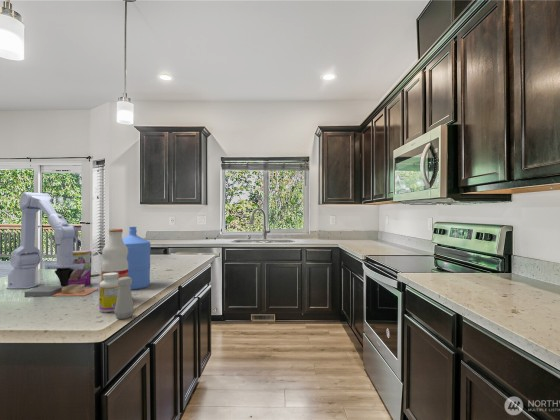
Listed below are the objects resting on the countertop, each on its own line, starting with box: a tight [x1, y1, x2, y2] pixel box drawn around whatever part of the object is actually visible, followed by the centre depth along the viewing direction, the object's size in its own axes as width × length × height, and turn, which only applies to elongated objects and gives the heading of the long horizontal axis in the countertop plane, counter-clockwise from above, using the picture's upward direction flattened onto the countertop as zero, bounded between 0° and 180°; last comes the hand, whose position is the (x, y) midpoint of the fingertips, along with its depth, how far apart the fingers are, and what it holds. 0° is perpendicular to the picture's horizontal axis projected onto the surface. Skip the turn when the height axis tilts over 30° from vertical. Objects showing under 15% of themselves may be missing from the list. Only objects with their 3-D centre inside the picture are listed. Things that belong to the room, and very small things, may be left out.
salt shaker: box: [114, 277, 135, 320], centre depth 102 cm, size 6×6×13 cm
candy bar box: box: [63, 250, 93, 287], centre depth 145 cm, size 11×5×16 cm, turn 130°
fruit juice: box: [100, 228, 128, 283], centre depth 122 cm, size 9×9×28 cm
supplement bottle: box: [98, 273, 120, 313], centre depth 110 cm, size 7×7×13 cm
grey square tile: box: [24, 285, 63, 298], centre depth 132 cm, size 10×11×2 cm
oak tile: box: [62, 284, 86, 294], centre depth 133 cm, size 6×6×2 cm
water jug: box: [122, 226, 151, 291], centre depth 145 cm, size 16×16×28 cm
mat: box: [51, 288, 99, 297], centre depth 133 cm, size 13×11×1 cm
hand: (64, 286), depth 132 cm, fingers closed
